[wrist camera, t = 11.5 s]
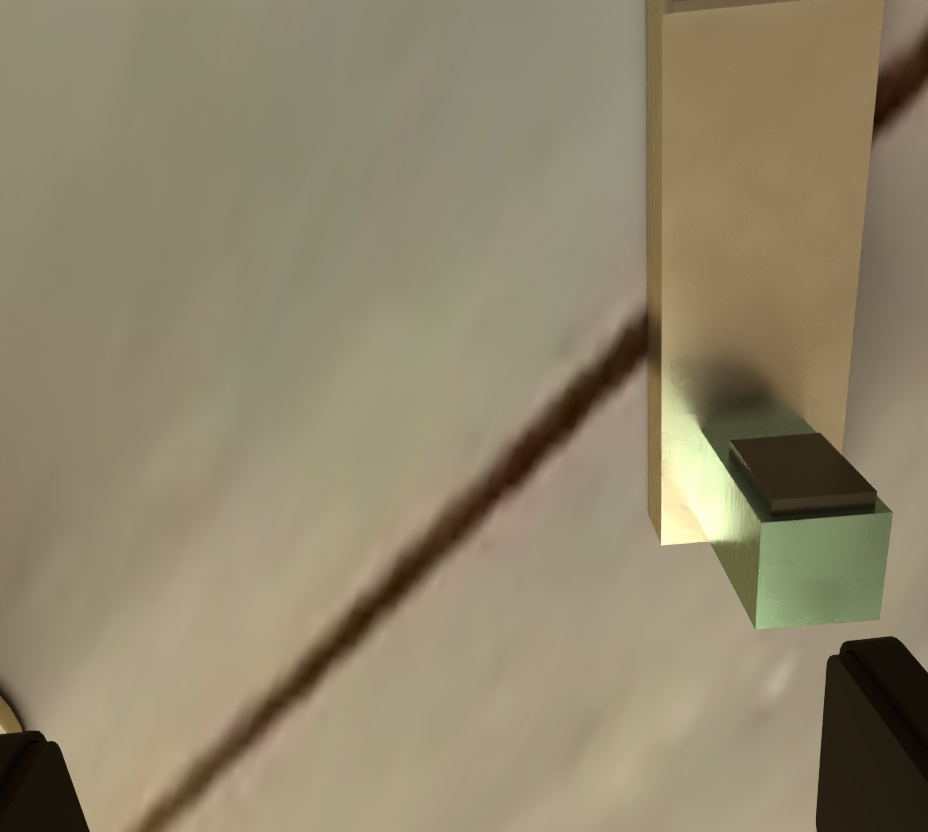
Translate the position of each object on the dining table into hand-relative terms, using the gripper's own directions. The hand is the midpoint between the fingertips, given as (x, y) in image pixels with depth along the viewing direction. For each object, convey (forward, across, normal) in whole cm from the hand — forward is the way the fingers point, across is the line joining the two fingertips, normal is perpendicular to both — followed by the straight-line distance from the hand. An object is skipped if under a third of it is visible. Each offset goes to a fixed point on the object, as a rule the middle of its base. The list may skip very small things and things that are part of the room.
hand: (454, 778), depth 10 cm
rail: (+24, -12, -2) cm, 27 cm away
